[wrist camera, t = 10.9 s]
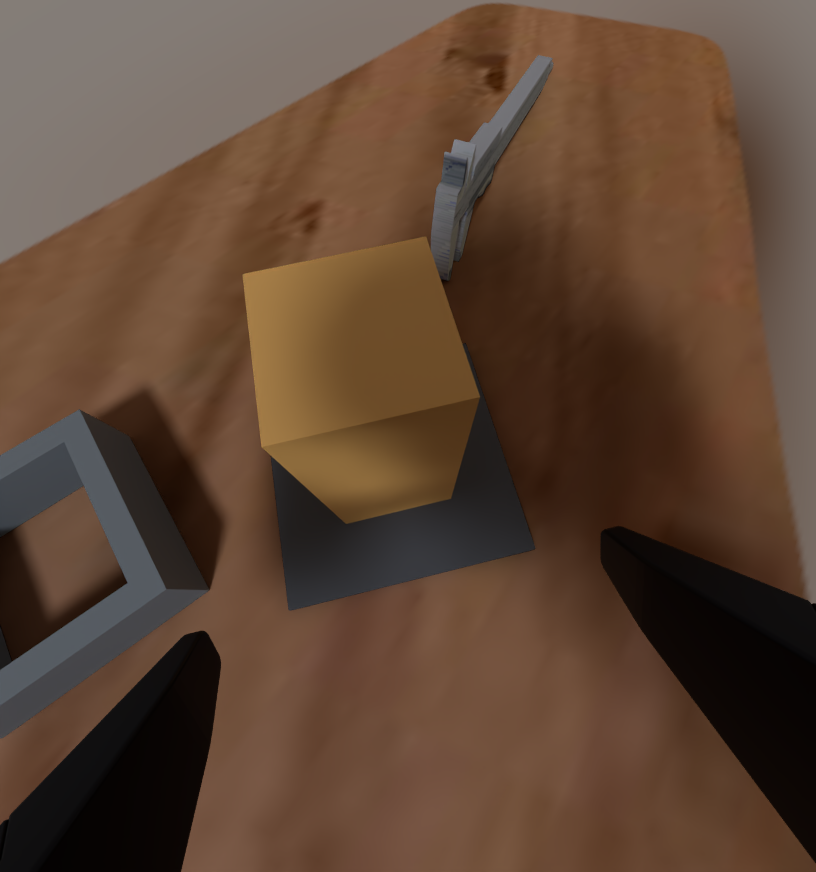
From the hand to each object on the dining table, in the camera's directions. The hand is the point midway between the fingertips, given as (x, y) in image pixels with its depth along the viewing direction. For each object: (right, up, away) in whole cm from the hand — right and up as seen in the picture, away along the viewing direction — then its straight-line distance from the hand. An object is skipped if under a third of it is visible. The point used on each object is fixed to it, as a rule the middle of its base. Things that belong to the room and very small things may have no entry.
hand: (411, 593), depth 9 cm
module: (-1, +2, +9) cm, 9 cm away
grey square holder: (-14, -2, +8) cm, 16 cm away
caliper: (+6, +20, +17) cm, 27 cm away
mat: (-1, +2, +9) cm, 10 cm away
